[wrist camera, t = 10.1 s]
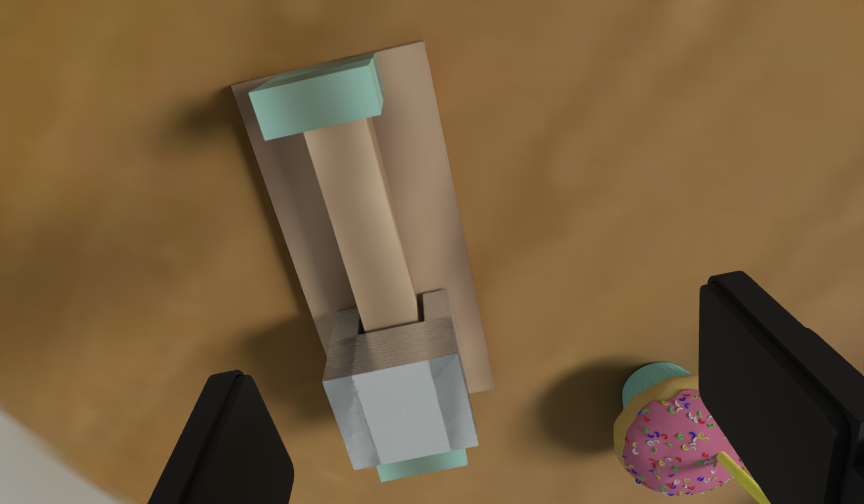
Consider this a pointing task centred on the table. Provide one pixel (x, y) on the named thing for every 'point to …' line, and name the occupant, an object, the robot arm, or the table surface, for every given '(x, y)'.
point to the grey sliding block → (400, 387)
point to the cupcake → (674, 436)
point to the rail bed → (411, 198)
